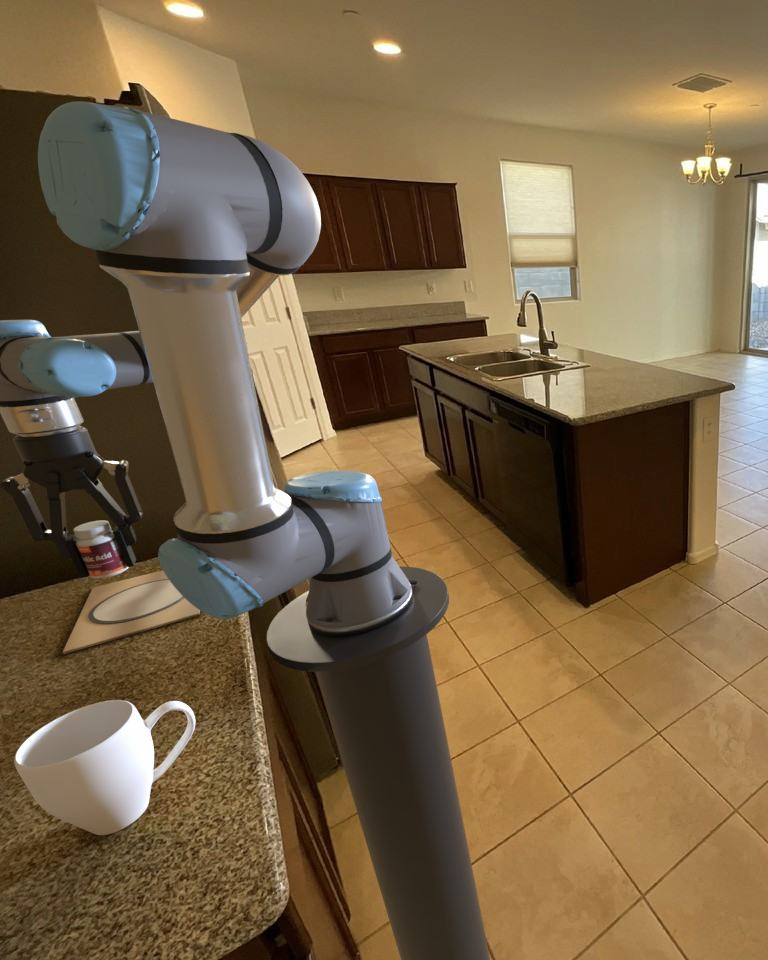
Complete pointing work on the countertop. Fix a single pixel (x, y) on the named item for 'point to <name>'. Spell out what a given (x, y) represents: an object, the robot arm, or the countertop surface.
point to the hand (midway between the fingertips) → (109, 568)
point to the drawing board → (128, 610)
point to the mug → (97, 764)
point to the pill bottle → (99, 549)
